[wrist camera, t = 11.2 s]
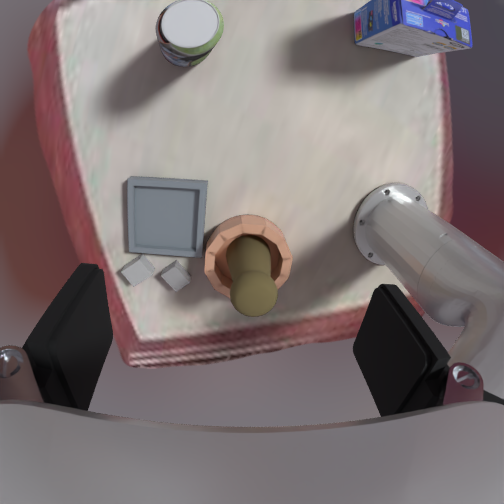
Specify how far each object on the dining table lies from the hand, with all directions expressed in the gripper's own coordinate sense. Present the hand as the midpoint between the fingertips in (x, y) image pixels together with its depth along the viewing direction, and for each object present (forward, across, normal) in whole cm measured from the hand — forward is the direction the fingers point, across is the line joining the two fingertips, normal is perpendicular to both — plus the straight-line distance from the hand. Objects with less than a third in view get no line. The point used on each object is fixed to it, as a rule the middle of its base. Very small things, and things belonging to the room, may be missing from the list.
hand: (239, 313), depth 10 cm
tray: (+30, +8, +8) cm, 32 cm away
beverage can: (+31, +6, -14) cm, 34 cm away
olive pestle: (+30, -4, +12) cm, 32 cm away
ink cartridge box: (+31, -18, -21) cm, 41 cm away
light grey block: (+31, +12, +16) cm, 36 cm away
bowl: (+30, -4, +12) cm, 33 cm away
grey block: (+31, +6, +16) cm, 35 cm away
